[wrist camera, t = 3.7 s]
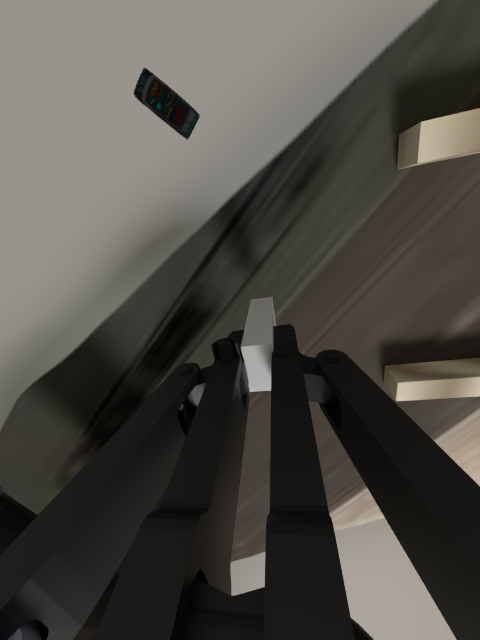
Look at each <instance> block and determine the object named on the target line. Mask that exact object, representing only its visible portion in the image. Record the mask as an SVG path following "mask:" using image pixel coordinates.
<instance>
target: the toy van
mask: <svg viewBox="0 0 480 640" xmlns="http://www.w3.org/2000/svg"><path fill="white" fill-rule="evenodd" d="M134 96H135V97H136V98H137V99H138V100H139V101H140V102H141V103H142V104H143V105H145V106H146V107H147V108H149V109H150V110H151V111H152V112H153V113H154V114H156V115H157V116H158V117H159V118H160V119H162V120H163V121H164V122H165V123H167V124H168V125H169V126H170V127H171V128H173V129H174V130H175V131H176V132H177V133H179V134H180V135H182V136H183V137H184V138H186V139H187V138H188V139H189V137H190V135H191V133H192V131H193V129H194V127H195V125H196V123H197V121H198V119H199V117H200V116H199V115H200V114H198V112H197V111H196V110H195V109H194V108H192V107H191V105H189V104H188V103H187V102H186V101H185V100H184V99H183V98H182V97H180V96H179V95H178V94H177V93H176V92H175V91H173V90H172V89H171V88H170V87H169V86H168V85H166V84H165V83H164V82H163V81H162V80H160V79H159V78H158V77H156V76H155V75H154V74H153V73H152V72H150V71H149V70H148V69H147V68H143V70H142V73H141V74H140V77H139V79H138V81H137V84H136V87H135V90H134ZM188 139H187V140H188Z"/></svg>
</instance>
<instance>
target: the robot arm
mask: <svg viewBox="0 0 480 640" xmlns="http://www.w3.org/2000/svg"><path fill="white" fill-rule="evenodd" d="M211 347H212V351H213V355H214V358H215V361H214V363H213V365H212V366H209V367H206V368H202V369H200V367H199V365H198V364H196V363H186V364H183V365H181V366H179V367H178V368H177V369H175V370H174V371H173V372H172V373H171V375H170V376H169V377H168V378H167V379H166V380H165V381H164V382H163V383H162V384H161V385H160V386H159V387H158V388H157V389H156V390H155V392H154V393H153V394H152V395H151V396H150V397H149V398H148V399H147V400H146V401H145V402H144V403H143V404H142V405H141V406H140V408H139V409H138V410H137V411H136V412H135V413H134V414H133V415H132V416H131V417H130V418H129V419H128V420H127V421H126V422H125V423H124V425H123V426H122V427H121V428H120V429H119V430H118V431H117V432H116V433H115V434H114V435H113V436H112V437H111V438H110V439H109V440H108V442H107V443H106V444H105V445H104V446H103V447H102V448H101V449H100V450H99V451H98V452H97V453H96V454H95V455H94V456H93V457H92V459H91V460H90V461H89V462H88V463H87V464H86V465H85V466H84V467H83V468H82V469H81V470H80V471H79V472H78V473H77V474H76V476H75V477H74V478H73V479H72V480H71V481H70V482H69V483H68V484H67V485H66V486H65V487H64V488H63V489H62V490H61V491H60V493H59V494H58V495H57V496H56V497H55V498H54V499H53V500H52V501H51V502H50V503H49V504H48V505H47V506H46V507H45V509H44V510H43V511H42V512H41V513H40V514H39V515H37V514H35V513H34V512H32V511H31V510H29V509H28V508H26V507H25V506H23V505H22V504H20V503H19V502H17V501H16V500H14V499H13V498H11V497H10V496H9V495H7V494H6V493H4V492H3V487H2V486H1V485H0V640H373V638H372V637H371V636H370V635H369V634H368V633H367V632H366V631H365V630H364V629H363V628H362V627H361V626H360V625H359V624H358V623H356V622H355V621H354V620H353V619H351V617H350V612H349V607H348V601H347V597H346V591H345V586H344V581H343V575H342V570H341V565H340V559H339V554H338V549H337V543H336V538H335V533H334V528H333V523H332V519H331V517H330V515H329V511H328V506H327V500H326V495H325V489H324V484H323V478H322V473H321V467H320V462H319V456H318V451H317V445H316V440H315V434H314V429H313V423H312V418H311V412H310V407H309V402H308V401H312V402H317V403H319V405H320V408H321V409H322V411H323V413H324V415H325V416H326V418H327V420H328V421H329V423H330V425H331V426H332V428H333V430H334V432H335V433H336V435H337V437H338V438H339V440H340V442H341V444H342V445H343V447H344V449H345V450H346V452H347V454H348V455H349V457H350V459H351V461H352V462H353V464H354V466H355V467H356V469H357V471H358V472H359V474H360V476H361V478H362V479H363V481H364V483H365V484H366V486H367V488H368V489H369V491H370V493H371V495H372V496H373V498H374V500H375V501H376V503H377V505H378V506H379V508H380V510H381V512H382V513H383V515H384V517H385V518H386V520H387V522H388V523H389V525H390V527H391V529H392V530H393V532H394V534H395V535H396V537H397V539H398V540H399V542H400V544H401V545H402V547H403V549H404V551H405V552H406V554H407V556H408V557H409V559H410V561H411V562H412V564H413V566H414V568H415V569H416V571H417V573H418V574H419V576H420V578H421V579H422V581H423V583H424V584H425V586H426V588H427V590H428V592H429V593H430V595H431V597H432V598H433V600H434V602H435V603H436V605H437V606H438V609H439V610H440V612H441V613H442V615H443V617H444V619H445V620H446V622H447V624H448V625H449V627H450V629H451V630H452V632H453V634H454V636H455V637H456V639H457V640H480V486H479V485H478V484H477V483H476V482H475V481H474V480H473V479H472V478H471V477H470V476H469V475H468V474H467V473H466V472H465V471H464V470H462V469H461V468H460V467H459V466H458V465H457V464H456V463H455V462H454V461H453V460H452V459H451V458H450V457H449V456H448V455H447V454H446V453H445V452H444V451H443V450H442V449H441V448H440V447H439V446H438V445H437V444H436V443H435V442H434V441H433V440H432V439H431V438H430V437H429V436H428V435H427V434H426V433H425V432H424V431H423V430H422V429H421V428H420V427H419V426H418V425H417V424H416V423H415V422H414V421H413V420H412V419H411V418H410V417H409V416H408V415H407V414H406V413H405V412H404V411H403V410H402V409H401V408H400V407H399V406H398V405H397V404H396V403H395V402H394V401H393V400H392V399H391V398H390V397H389V396H388V395H387V394H386V393H385V392H384V391H383V390H382V389H381V388H380V387H379V386H378V385H377V384H376V383H375V382H374V381H373V380H372V379H371V378H370V377H369V376H368V375H366V374H365V373H364V372H363V371H362V370H361V369H360V368H359V367H358V366H357V365H356V364H355V363H354V362H353V361H352V360H351V359H350V358H349V357H348V356H347V355H346V354H345V353H343V352H341V351H338V350H325V351H322V352H320V353H318V354H317V356H316V358H312V357H307V356H304V355H302V354H301V353H300V352H299V350H298V346H297V340H296V335H295V329H294V327H293V326H291V325H290V324H288V325H279V326H276V322H275V314H274V307H273V300H272V297H268V298H260V299H253V300H251V303H250V308H249V312H248V316H247V321H246V325H245V330H239V331H233V332H232V333H231V334H230V335H229V336H228V338H223V339H220V340H217V341H216V342H214V343H213V344H212V345H211ZM248 385H249V389H250V392H255V391H271V460H270V513H269V515H268V516H267V524H266V560H265V562H266V563H265V587H264V588H260V589H257V590H253V591H250V592H246V593H243V594H239V595H236V596H231V574H230V563H231V552H232V544H233V535H234V526H235V518H236V509H237V500H238V492H239V483H240V475H241V466H242V457H243V449H244V440H245V431H246V423H247V414H248V405H249V395H248ZM182 403H183V406H184V407H183V408H182V409H181V410H179V408H180V406H181V405H182Z"/></svg>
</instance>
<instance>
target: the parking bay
mask: <svg viewBox="0 0 480 640" xmlns="http://www.w3.org/2000/svg"><path fill="white" fill-rule="evenodd" d="M475 153H480V108H478V109H474V110H469V111H465V112H461V113H457V114H452V115H448V116H444V117H440V118H435V119H431V120H427V121H422V122H420V123H418V124H416V125H415V126H413V127H411V128H410V129H408V130H406V131H404V132H403V133H401V134H399V146H398V163H397V170H398V169H403V168H408V167H413V166H417V165H422V164H427V163H432V162H437V161H442V160H446V159H451V158H456V157H461V156H466V155H471V154H475ZM384 384H385V385H386V387H387V388H388V390H389V391H390V393H391V394H392V396H393V397H394V399H395V400H396V401H408V400H425V399H441V398H458V397H475V396H480V358H470V359H458V360H446V361H434V362H422V363H410V364H398V365H386V366H385V372H384Z"/></svg>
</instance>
